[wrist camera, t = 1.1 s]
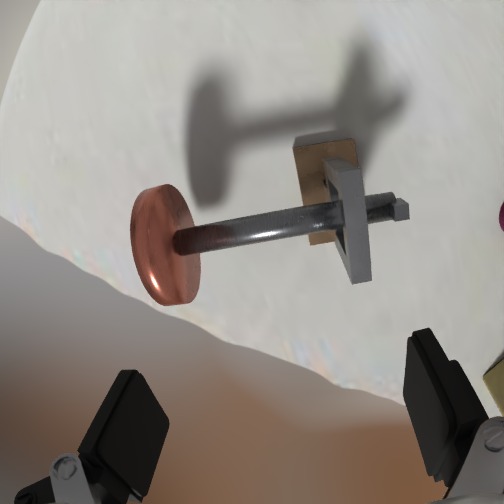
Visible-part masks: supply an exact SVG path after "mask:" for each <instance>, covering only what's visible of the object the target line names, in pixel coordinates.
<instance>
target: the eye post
mask: <svg viewBox="0 0 504 504" xmlns="http://www.w3.org/2000/svg"><path fill="white" fill-rule="evenodd" d="M293 153H294V158H295V163H296V169H297V174H298V179H299V184H300V190H301V195H302V201H303V206H307V205H313V204H319V203H325V202H331V201H337V200H339V202H340V209H341V217H342V225H343V228H341V229H335V230H330V231H324V232H318V233H312V234H308V236H309V242H310V245H316V244H322V243H328V242H334V241H335V245H336V247H337V249H338V252H339V254H340V256H341V259H342V261H343V264H344V266H345V269H346V271H347V274H348V276H349V278H350V281H351V283H352V284H357V283H362V282H368V281H372V275H371V259H370V246H369V234H368V223H367V213H366V204H365V196H364V188H363V180H362V173H361V169H360V168H358V162H357V156H356V149H355V143H354V139H345V140H338V141H332V142H325V143H319V144H312V145H306V146H300V147H295V148H293Z"/></svg>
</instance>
